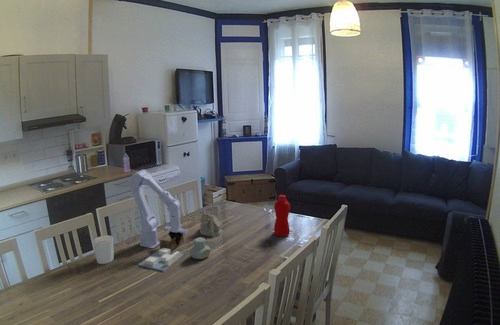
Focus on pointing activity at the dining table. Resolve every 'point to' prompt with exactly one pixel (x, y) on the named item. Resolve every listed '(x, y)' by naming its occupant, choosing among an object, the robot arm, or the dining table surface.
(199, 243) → the air freshener
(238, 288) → the dining table surface
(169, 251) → the display stand
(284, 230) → the water bottle
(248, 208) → the dining table surface
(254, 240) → the dining table surface
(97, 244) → the candle holder
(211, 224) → the beige rock
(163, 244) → the wooden c-shaped bracket
